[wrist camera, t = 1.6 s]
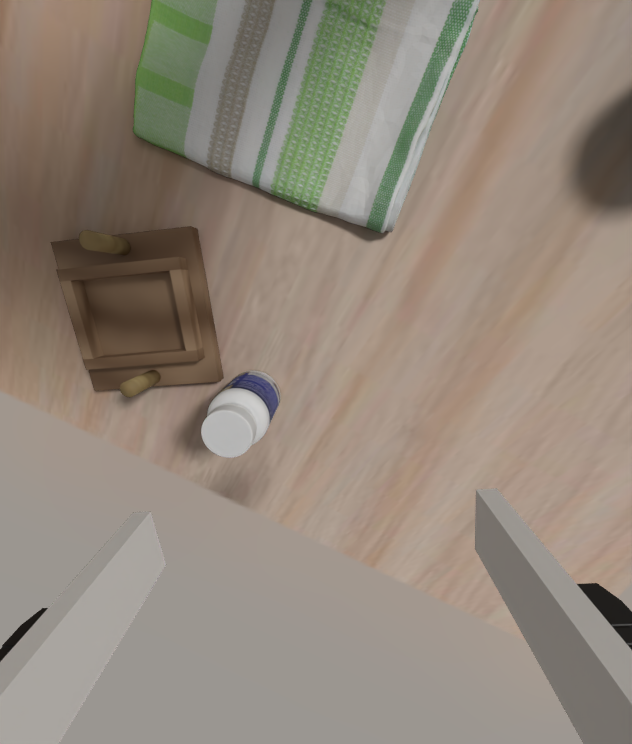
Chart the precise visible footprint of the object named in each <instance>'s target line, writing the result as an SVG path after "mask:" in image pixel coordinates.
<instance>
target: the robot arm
mask: <svg viewBox="0 0 632 744" xmlns="http://www.w3.org/2000/svg"><path fill="white" fill-rule="evenodd" d="M475 550H476V551H477V553H478V555H479V557H480V559H481V560H482V562H483V564H484V566H485V568H486V569H487V571H488V573H489V575H490V577H491V578H492V580H493V582H494V584H495V586H496V587H497V589H498V591H499V593H500V595H501V596H502V598H503V600H504V602H505V604H506V605H507V607H508V609H509V611H510V613H511V614H512V616H513V618H514V620H515V621H516V623H517V625H518V627H519V629H520V630H521V632H522V634H523V636H524V638H525V639H526V641H527V643H528V645H529V647H530V648H531V650H532V652H533V654H534V655H535V657H536V659H537V661H538V663H539V665H540V666H541V668H542V670H543V672H544V673H545V675H546V677H547V679H548V680H549V682H550V684H551V686H552V688H553V690H554V691H555V693H556V695H557V697H558V699H559V701H560V702H561V704H562V706H563V708H564V710H565V711H566V713H567V715H568V717H569V718H570V720H571V722H572V724H573V726H574V727H575V729H576V731H577V733H578V735H579V736H580V738H581V740H582V742H583V744H632V612H631V611H630V610H629V608H628V607H627V606H626V605H625V604H624V603H623V602H622V601H621V600H619V599H618V598H617V597H615V596H614V595H613V594H611V593H610V592H608V591H607V590H606V589H604V588H603V587H601V586H600V585H599V584H597V583H591V584H576V583H575V582H574V580H573V579H572V578H571V577H570V576H569V574H568V573H567V572H566V571H565V570H564V568H563V567H562V566H561V565H560V564H559V562H558V561H557V560H556V559H555V558H554V556H553V555H552V554H551V553H550V552H549V550H548V549H547V548H546V547H545V546H544V544H543V543H542V542H541V541H540V540H539V538H538V537H537V536H536V535H535V534H534V532H533V531H532V530H531V529H530V528H529V526H528V525H527V524H526V523H525V522H524V521H523V519H522V518H521V517H520V516H519V515H518V513H517V512H516V511H515V510H514V509H513V507H512V506H511V505H510V504H509V503H508V501H507V500H506V499H505V498H504V497H503V495H502V494H501V493H500V492H499V491H498V489H497V488H495V489H480V490H476V518H475ZM165 566H166V563H165V559H164V556H163V552H162V549H161V546H160V542H159V538H158V535H157V532H156V528H155V525H154V521H153V518H152V515H151V512H135V513H133V514H132V515H131V516H130V517H129V518H128V519H127V520H126V521H125V522H124V523H123V525H122V526H121V527H120V528H119V529H118V530H117V531H116V532H115V534H114V535H113V536H112V537H111V538H110V539H109V540H108V541H107V543H106V544H105V545H104V546H103V547H102V548H101V549H100V550H99V552H98V553H97V554H96V555H95V556H94V557H93V558H92V559H91V561H90V562H89V563H88V564H87V565H86V566H85V567H84V568H83V570H82V571H81V572H80V573H79V574H78V575H77V576H76V577H75V579H74V580H73V581H72V582H71V583H70V584H69V585H68V586H67V588H66V589H65V590H64V591H63V592H62V593H61V594H60V595H59V597H58V598H57V599H56V600H55V601H54V602H53V603H52V604H51V606H50V607H49V608H42V609H41V610H40V611H38V612H37V613H36V614H35V615H33V616H32V617H31V618H30V619H28V620H27V621H26V622H25V623H23V624H22V625H21V626H20V627H19V628H18V629H17V630H16V631H15V632H14V633H13V635H12V636H11V637H10V638H9V639H8V640H7V641H6V642H5V643H4V644H3V645H2V648H1V649H0V744H59V743H60V741H61V739H62V737H63V735H64V734H65V732H66V731H67V729H68V728H69V726H70V724H71V723H72V721H73V719H74V717H75V716H76V714H77V712H78V711H79V709H80V707H81V706H82V704H83V703H84V701H85V699H86V698H87V696H88V694H89V692H90V691H91V689H92V687H93V686H94V684H95V683H96V681H97V679H98V677H99V676H100V674H101V673H102V671H103V669H104V668H105V666H106V664H107V662H108V661H109V659H110V657H111V656H112V654H113V653H114V651H115V649H116V648H117V646H118V644H119V643H120V641H121V639H122V638H123V636H124V634H125V632H126V631H127V629H128V627H129V626H130V624H131V622H132V621H133V619H134V617H135V616H136V614H137V613H138V611H139V609H140V608H141V606H142V604H143V603H144V601H145V599H146V598H147V596H148V594H149V593H150V591H151V589H152V588H153V586H154V584H155V583H156V580H157V579H158V577H159V576H160V574H161V573H162V571H163V569H164V568H165Z"/></svg>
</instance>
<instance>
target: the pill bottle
mask: <svg viewBox="0 0 632 744" xmlns="http://www.w3.org/2000/svg"><path fill="white" fill-rule="evenodd" d="M279 403H280V390H279V387H278V385H277V383H276V382H275V381H274V379H273V378H271V377H270V376H269V375H267V374H266V373H263V372H260V371H246V372H243V373H241V374H240V375H238V376H237V377H236V378H235V379H234V380H233V381H231V382H230V383H229V384H228V385H227V386H226V387H225V388H224V389H223V390H222V391H221V392H220V393H219V394H218V395H217V396H216V397H215V398H214V399H213V400H212V402H211V404H210V405H209V408H208V412H207V417H206V419H205V420H204V422H203V424H202V428H201V435H202V439H203V441H204V443H205V445H206V446H207V448H208V449H209V450H210V451H212V452H213V453H215V454H216V455H218V456H222V457H227V458H232V457H237V456H240V455H242V454H244V453H245V452H246V451H247V450H248V449H249V448H250V446H251V445H253V444H255V443H256V442H258V441H259V440H260V439H261V438H262V437H263V436H264V435H265V433H266V431H267V429H268V427H269V425H270V422H271V420H272V418H273V416H274V414H275V412H276V410H277V408H278V406H279Z"/></svg>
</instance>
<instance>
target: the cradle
mask: <svg viewBox="0 0 632 744" xmlns="http://www.w3.org/2000/svg"><path fill="white" fill-rule="evenodd" d="M51 245H52V248H53V252H54V255H55V258H56V262H57V265H58V269H59V270H57V274H58V277H59V280H60V284H61V287H62V290H63V294H64V297H65V300H66V304H67V307H68V311H69V314H70V317H71V321H72V324H73V327H74V331H75V334H76V337H77V341H78V344H79V347H80V351H81V354H82V358H83V361H84V364H85V368H86V370H89V373H90V377H91V380H92V384H93V387H94V390H95V391H97V390H110V389H120V391H121V393H122V394H123V395H124V396H126V397H133V396H134V395H136V394H138V393H140V392H142V391H143V390H145V389H147V388H149V387H152V386H165V385H179V384H193V383H206V382H220V381H221V380H222V379H223V378H224V377H223V371H222V366H221V360H220V354H219V349H218V343H217V337H216V332H215V326H214V321H213V315H212V309H211V304H210V298H209V292H208V287H207V281H206V275H205V270H204V264H203V259H202V253H201V247H200V242H199V236H198V230H197V229H196V228H194V227H192V226H190V227H181V228H172V229H163V230H155V231H146V232H137V233H128V234H119V235H106V234H102V233H98V232H93V231H89V230H84V231H82V232H81V233H80V235H79V239H75V240H66V241H57V242H51Z"/></svg>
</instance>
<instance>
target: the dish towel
mask: <svg viewBox="0 0 632 744" xmlns="http://www.w3.org/2000/svg"><path fill="white" fill-rule="evenodd" d="M479 2H480V0H152V2H151V10H150V17H149V21H148V27H147V32H146V36H145V42H144V46H143V49H142V54H141V58H140V62H139V65H138V68H137V73H136V79H135V103H134V127H133V132H134V134H135V135H136V136H137V137H140V138H142V139H144V140H146V141H148V142H149V143H151V144H154V145H156V146H158V147H161V148H164V149H166V150H169V151H171V152H174V153H176V154H178V155H181V156H183V157H185V158H188V159H190V160H192V161H194V162H196V163H198V164H201V165H203V166H205V167H207V168H208V169H210V170H212V171H214V172H216V173H218V174H221V175H224V176H225V177H229V178H232V179H235V180H238V181H241V182H243V183H245V184H249V185H252V186H255V187H257V188H260V189H261V190H264V191H266V192H268V193H270V194H272V195H275V196H277V197H280V198H282V199H285V200H287V201H289V202H291V203H294V204H296V205H299V206H302V207H304V208H306V209H308V210H311V211H313V212H318V213H322V214H325V215H329V216H333V217H336V218H340V219H342V220H345V221H347V222H350V223H353V224H356V225H360V226H364V227H367V228H369V229H371V230H374V231H377V232H380V233H384V232H385V231H389V232H392V231H393V228H394V226H395V223H396V221H397V218H398V215H399V213H400V210H401V208H402V205H403V203H404V200H405V198H406V196H407V193H408V191H409V189H410V186H411V182H412V180H413V177H414V175H415V173H416V169H417V166H418V164H419V161H420V158H421V155H422V153H423V149H424V146H425V144H426V141H427V138H428V136H429V133H430V130H431V127H432V124H433V122H434V120H435V117H436V115H437V112H438V110H439V107H440V105H441V102H442V99H443V97H444V95H445V92H446V90H447V88H448V85H449V82H450V80H451V78H452V75H453V73H454V71H455V69H456V66H457V64H458V62H459V59H460V57H461V55H462V52H463V50H464V48H465V46H466V43H467V41H468V38H469V35H470V32H471V28H472V24H473V21H474V18H475V15H476V13H477V12H478V4H479Z"/></svg>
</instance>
